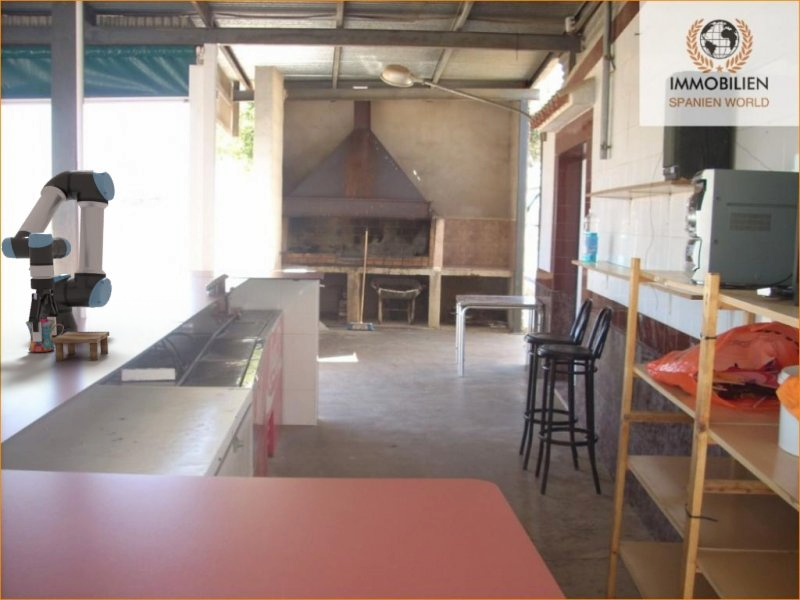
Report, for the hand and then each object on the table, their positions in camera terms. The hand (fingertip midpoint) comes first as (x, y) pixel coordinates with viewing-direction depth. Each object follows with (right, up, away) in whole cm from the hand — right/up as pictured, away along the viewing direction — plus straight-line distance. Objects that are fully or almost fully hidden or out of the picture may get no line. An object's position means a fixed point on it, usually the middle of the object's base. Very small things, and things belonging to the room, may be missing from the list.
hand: (45, 338), depth 267 cm
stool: (+17, -6, -9) cm, 20 cm away
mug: (0, -5, +1) cm, 5 cm away
